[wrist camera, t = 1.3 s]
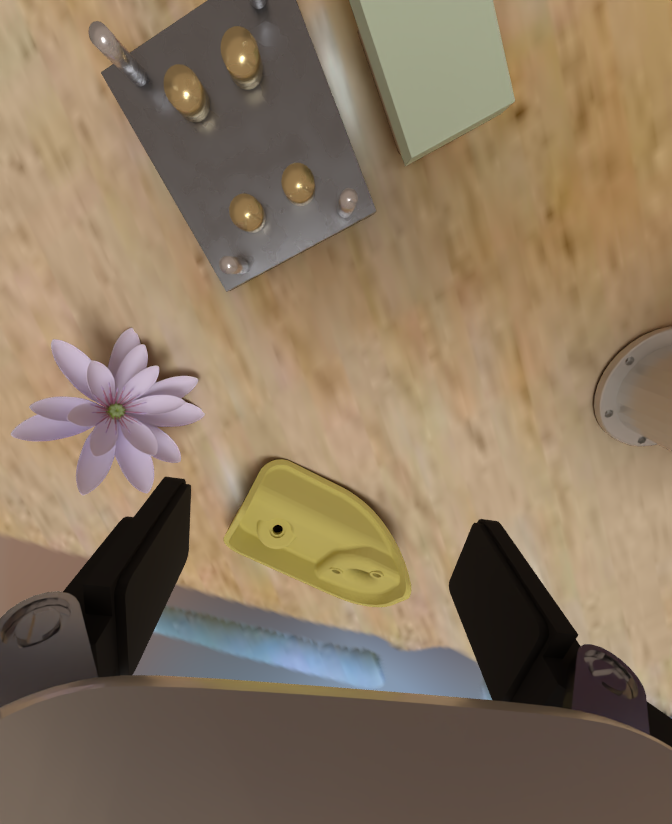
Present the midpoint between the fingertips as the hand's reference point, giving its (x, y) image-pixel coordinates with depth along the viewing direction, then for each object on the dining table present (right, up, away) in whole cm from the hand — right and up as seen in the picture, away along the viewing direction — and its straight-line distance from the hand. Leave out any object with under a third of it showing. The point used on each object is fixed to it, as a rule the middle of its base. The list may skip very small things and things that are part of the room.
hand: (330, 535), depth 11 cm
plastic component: (-2, -10, +31) cm, 32 cm away
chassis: (-6, +24, +16) cm, 30 cm away
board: (+6, +27, +11) cm, 30 cm away
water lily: (-18, +6, +24) cm, 30 cm away
